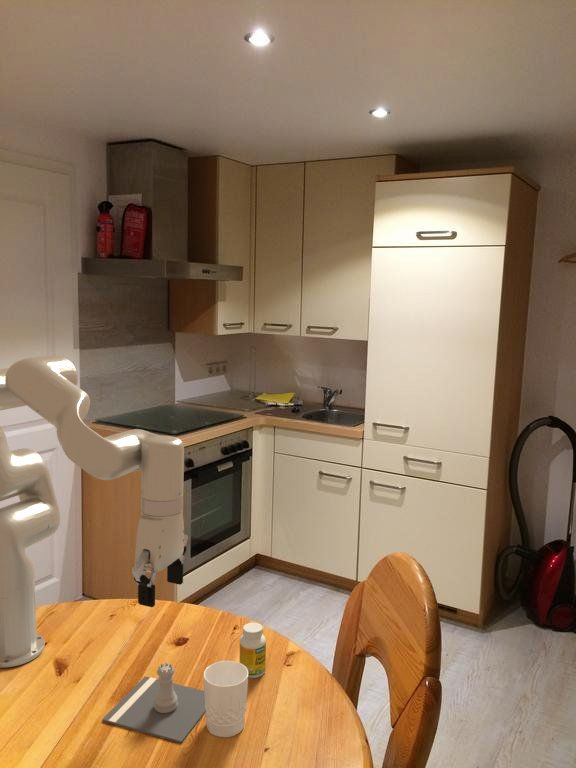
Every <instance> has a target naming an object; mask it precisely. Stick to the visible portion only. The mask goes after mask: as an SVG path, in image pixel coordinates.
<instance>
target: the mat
mask: <svg viewBox="0 0 576 768" xmlns="http://www.w3.org/2000/svg"><path fill="white" fill-rule="evenodd" d="M158 690H159V682H158V678H155V677H152V676H151V677H149V676H144V677H142V679H141V680H139V682H138V683H136V684H135V686H134V687H133V688H132V689H131V690H130V691H129V692H128V693H126V695H125V696H124V697H123V698H122V699H121V700H120V701H119V702H118V703H117V704H115V706H114V707H113V708H112V709H111V710H110V711H109V712H108V713H107V714H106V715H105V716H104V717H103V718H102V722H103V723H106V724H107V723H108V724H112V725H113V726H114V725H115V726H119V727H122V728H125V729H129V730H132V731H136V732H140V733H143V734H147V735H150V736H153V737H157V738H161V739H165V740H168V741H171V742H175V743H178V744H183V742H184V741H185V740H186V738H187V737H188V736H189V735H190V733H191V732H192V731H193V730H194V728H195V726H197V724H198V723H199V721H200V720H201V719H202V718H203V716H204V715H206V711H205V698H204V689H203V690H202V689H198V688H193V687H190V686H186V685H181V684H178V683H174V682H173V690H174V691H175V694H176V695H177V698H178V700H177V701H178V706H177V708H176V709H175V710H174V711H172V712H171V713H167V714H162V713H159V712H157V711H156V710H155V709H154V700H155V697H156V695H157V693H158Z"/></svg>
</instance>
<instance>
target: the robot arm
mask: <svg viewBox="0 0 576 768" xmlns="http://www.w3.org/2000/svg"><path fill="white" fill-rule="evenodd" d="M78 383H79V374H78V371H77V368H76V366H75V365H74V364H73V363H72V362H71V361H70V359H68V358H66V357H64V356H61V355H56V354H55V355H44V356H34V357H27V358H22V359H20V360H18V361H15V362H14V363H13V364H12V365H10V366H9V367H6V368H0V411H5V410H11V409H15V408H20V407H26V406H27V407H28V408H30V409H31V410H32V411H33V412H35V413H36V414H38V415H39V416H40V417H42V419H45V421H47V422H48V423H49V424H50V425H52V426H53V427H55V429H56V436H57V439H58V440H57V441H58V443H59V445H60V447H61V450H62V451H63V453H64V455H65V456H66V457H67V458H68V459H69V460H70V461H71V462H72V463H73V464H75V465H76V466H78V467H79V468H80V469H82V470H83V471H84V472H85V473H87V474H88V475H90V476H92V477H94V478H95V479H99V480H102V481H111V480H115V479H117V478H121V477H123V476H126V475H127V474H130V473H134V472H138V471H140V472H141V473H140V475H141V479H140V481H141V483H140V484H141V485H140V490H141V491H140V492H141V493H140V494H141V496H140V516H139V520H138V524H137V530H136V539H135V549H134V550H135V551H134V552H135V553H134V564H133V566H132V567H131V573H132V575H133V581H134V582H135V584H136V585H137V604H138V605H140V606H145V607H149V608H154V607H155V606H156V585H155V584H154V582H155V579H156V576H157V575H158V573H159V572H162V571H163V570H165V569H166V571H167V572H166V573H167V574H166V575H167V576H166V581H167V582H168V583H171V584H175V585H179V586H180V585H182V584H184V563H185V561H186V558H185V554H186V551H187V543H188V540H189V535H188V534H185V523H184V475H185V474H184V473H185V468H184V467H185V444H184V443H183V441H182V440H181V439H180V438H179V437H176V436H172V435H171V436H170V435H159V434H156V433H152V432H150V431H148V430H144V429H139V428H134V429H129V430H126V431H122V432H118V433H114V434H111V435H108V436H105V437H103V436H102V435H100V434H99V433H98V432H96V431H94V430H93V429H92V428H90V427H89V426H88V425H86V424H85V422H84V420H85V418H86V417H87V414H88V412H89V410H90V406H91V400H90V399H91V398H90V396H89V394H88V393H87V392H86V391H84V390H83V389H81V388H80V387H78ZM17 496H18V498H19V501H18V502H15V503H11V504H9V505H5V506H2V507H1V508H0V669H3V668H5V669H6V668H13V667H17V666H21V665H24V664H27V663H28V662H31V661H33V660H34V659H36V658H37V657H39V655H41V654H42V653H43V652H44V650H45V647H46V646H45V644H46V643H45V639H44V636H42V635H41V634H38V633H37V608H36V607H37V605H36V584H35V583H36V582H35V581H36V580H35V568H34V564H33V563H32V561H31V560H30V558H29V557H28V555H27V554H26V551H25V550H26V549H27V548H29V547H31V546H32V545H35V544H36V543H39V542H42V541H44V540H45V539H47V538H49V537H51V536H52V535H54V534H55V533H56V532H57V531H58V529H59V527H60V523H61V512H60V508H59V504H58V500H57V496H56V493H55V487H54V486H53V481H52V477H51V475H50V470H49V468H48V465H47V463H46V461H45V459H44V458H43V456H42V455H41V454H40V453H38V451H36V450H34V449H31V448H25V447H24V448H18V449H14V450H10V447H9V444H8V440H7V436H6V433H5V431H4V429H3V428H2V427H1V426H0V502H3V501H6V500H9V499H11V498H15V497H17ZM148 565H149V566H148ZM150 566H152V567H150ZM146 573H150V575H149V577H147V576H146Z"/></svg>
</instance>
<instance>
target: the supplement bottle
mask: <svg viewBox="0 0 576 768" xmlns="http://www.w3.org/2000/svg"><path fill="white" fill-rule="evenodd" d="M263 627H264V626H263V625H262V624H260V623H258V622H249V623H246V624H244V625H243V626H242V635H241V636H240V638H239V663H241V664H243V665H244V666H245V667H246V668H247V669H248V679H255V678H257V679H258V678H260V677H261V676H263V675H264V674H265V672H266V665H267V664H266V663H267V662H266V660H267V657H266V655H267V640H266V637H265V635H264V634H263V633H264V631H263V630H264V628H263Z"/></svg>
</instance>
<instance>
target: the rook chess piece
mask: <svg viewBox="0 0 576 768" xmlns="http://www.w3.org/2000/svg"><path fill="white" fill-rule="evenodd" d="M175 672H176V670H175V668H174V667H173V664H172V663H169V662H165V664H164V663H160V665H158V669H157V671H156V674H157V677H158V678H157V679H158V682H159V690H158V693H157V695H156V697H155V700H154V709H155V710H156V711H157V712H159V713H162V714H167V713H171V712H172V711H174V710H175V709H176V708H177V706H178V701H177V700H178V698H177V695H176V694H175V691H174V690H173V683H174V682H173V681H174V676H173V675H174V674H175Z"/></svg>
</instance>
